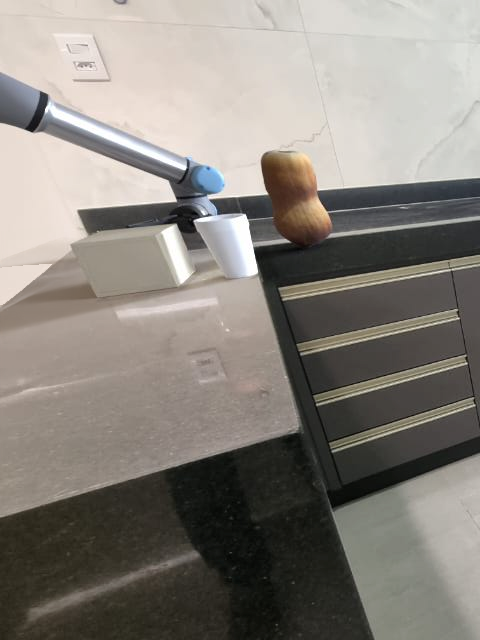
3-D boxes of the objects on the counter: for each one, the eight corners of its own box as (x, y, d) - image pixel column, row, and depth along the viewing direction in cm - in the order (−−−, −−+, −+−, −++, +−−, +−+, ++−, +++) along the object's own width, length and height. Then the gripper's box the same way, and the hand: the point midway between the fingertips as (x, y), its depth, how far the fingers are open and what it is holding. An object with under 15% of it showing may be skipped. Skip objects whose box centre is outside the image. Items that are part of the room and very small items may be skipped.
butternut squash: (344, 245, 146) (316, 148, 135) (290, 255, 138) (256, 153, 127) (327, 238, 155) (299, 147, 144) (275, 248, 146) (242, 151, 135)
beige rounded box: (124, 280, 122) (100, 231, 117) (196, 270, 127) (176, 223, 122) (96, 298, 110) (69, 244, 105) (178, 287, 115) (155, 235, 110)
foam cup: (209, 282, 117) (185, 223, 111) (226, 271, 125) (204, 216, 119) (258, 277, 119) (236, 219, 114) (271, 267, 127) (251, 212, 122)
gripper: (245, 226, 157) (230, 239, 139) (140, 237, 147) (110, 253, 130) (236, 200, 153) (219, 210, 136) (128, 209, 144) (95, 222, 127)
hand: (165, 231), depth 133 cm, fingers open, 13 cm apart
